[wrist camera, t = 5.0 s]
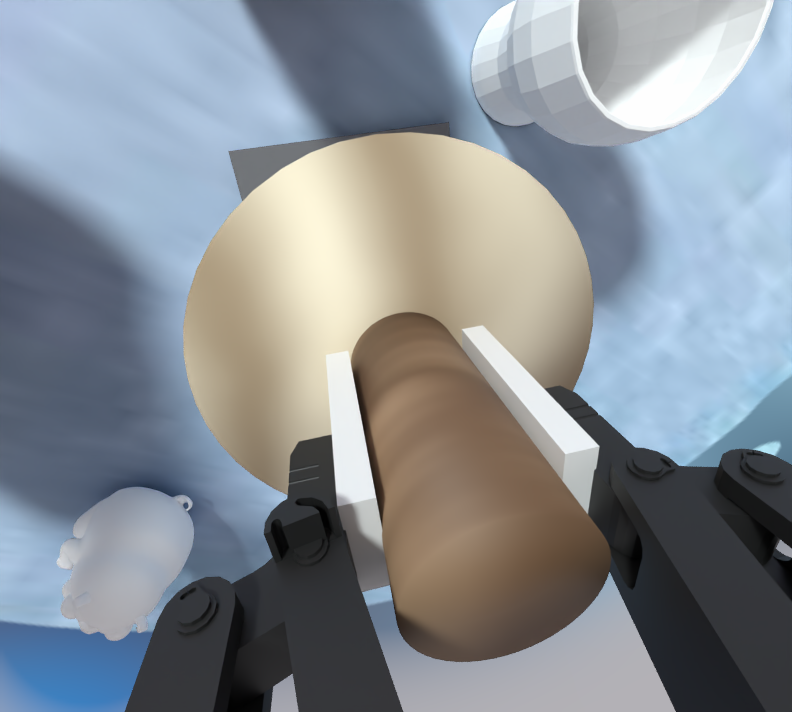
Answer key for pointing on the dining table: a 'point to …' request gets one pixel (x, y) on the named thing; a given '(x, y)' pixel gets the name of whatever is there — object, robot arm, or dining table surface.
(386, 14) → the dining table surface
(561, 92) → the cup
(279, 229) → the lid
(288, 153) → the mat
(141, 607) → the figurine
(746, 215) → the dining table surface
